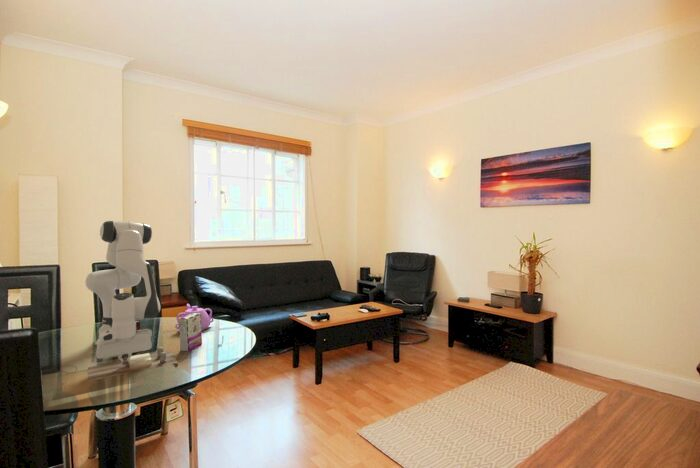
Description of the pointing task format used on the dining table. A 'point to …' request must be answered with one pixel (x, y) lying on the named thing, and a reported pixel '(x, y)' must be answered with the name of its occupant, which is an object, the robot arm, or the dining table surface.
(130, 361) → the birch plate
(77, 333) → the dining table surface
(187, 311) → the teapot
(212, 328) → the dining table surface
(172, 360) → the board
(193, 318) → the candy bar box
